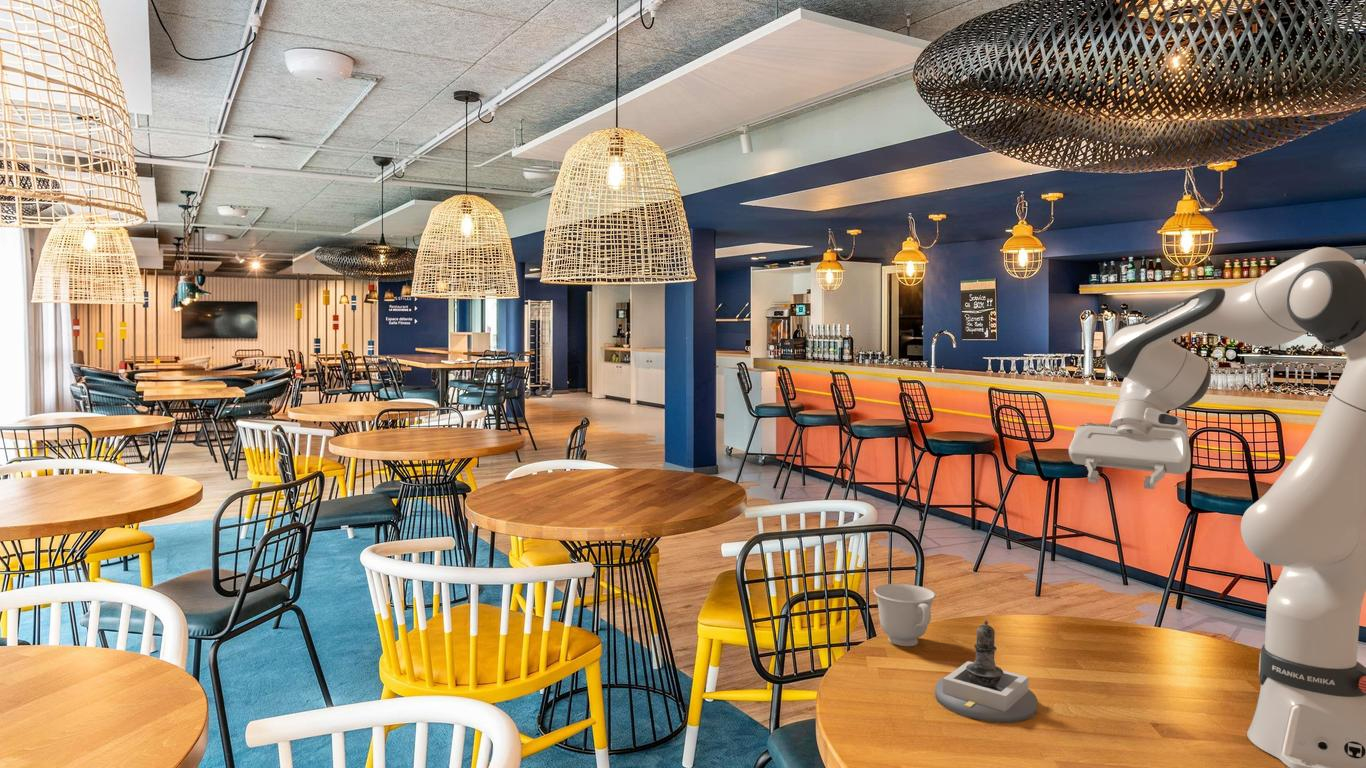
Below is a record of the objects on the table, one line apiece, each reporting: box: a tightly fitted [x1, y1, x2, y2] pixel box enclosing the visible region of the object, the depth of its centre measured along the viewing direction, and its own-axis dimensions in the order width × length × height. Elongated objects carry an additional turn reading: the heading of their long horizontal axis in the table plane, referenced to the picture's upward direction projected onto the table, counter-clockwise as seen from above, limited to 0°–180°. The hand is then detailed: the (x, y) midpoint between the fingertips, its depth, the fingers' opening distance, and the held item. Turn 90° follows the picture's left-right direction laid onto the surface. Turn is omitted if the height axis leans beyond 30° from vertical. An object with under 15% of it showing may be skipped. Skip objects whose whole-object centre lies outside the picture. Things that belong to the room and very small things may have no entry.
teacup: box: [873, 583, 936, 647], centre depth 169 cm, size 12×15×10 cm
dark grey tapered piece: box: [966, 620, 1003, 692], centre depth 143 cm, size 6×6×12 cm
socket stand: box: [934, 660, 1038, 724], centre depth 142 cm, size 16×16×4 cm
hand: (1119, 483), depth 156 cm, fingers open, 8 cm apart
